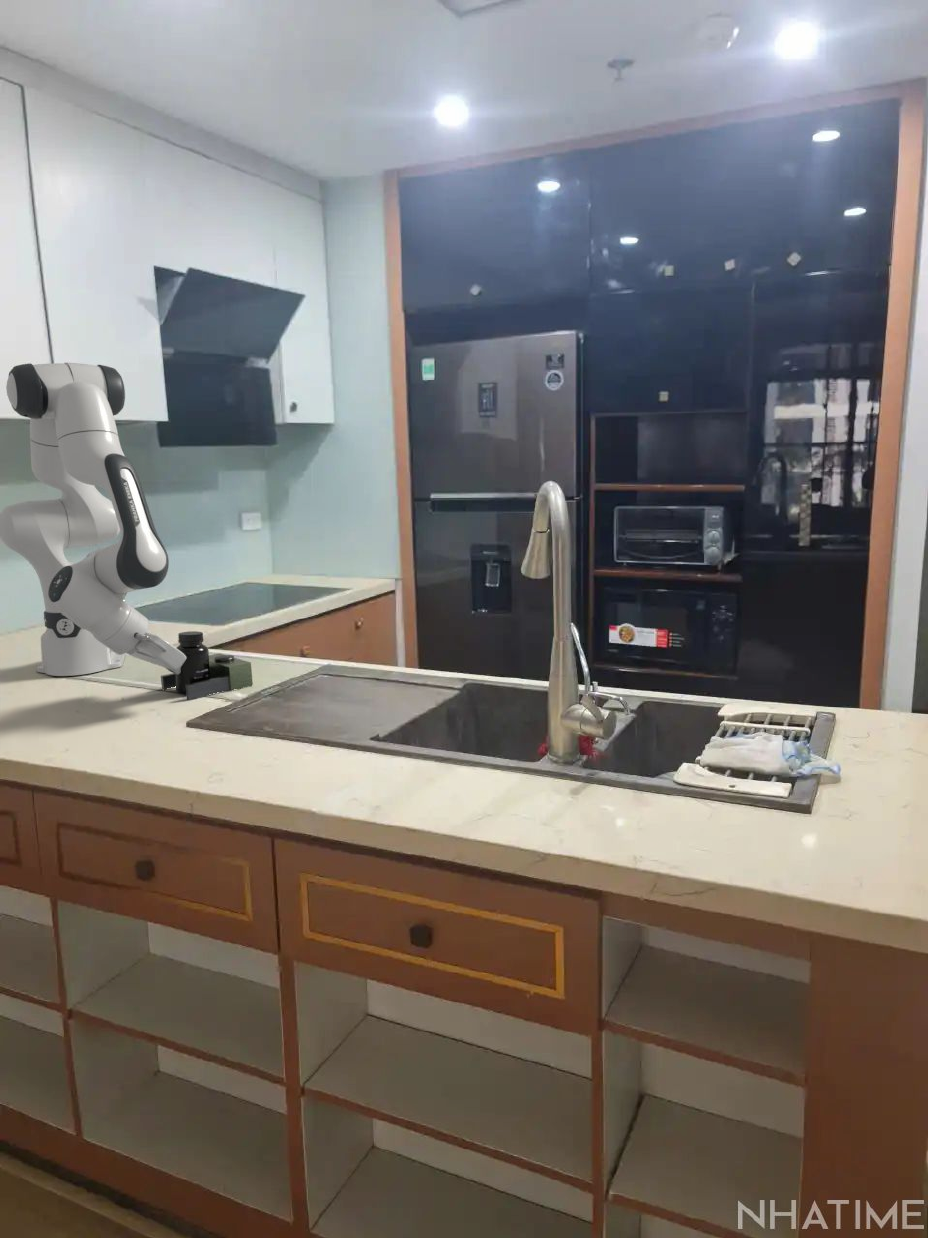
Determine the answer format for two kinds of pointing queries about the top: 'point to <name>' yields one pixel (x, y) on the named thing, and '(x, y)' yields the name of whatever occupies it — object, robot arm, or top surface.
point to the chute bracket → (216, 677)
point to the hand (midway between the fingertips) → (177, 670)
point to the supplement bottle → (192, 660)
